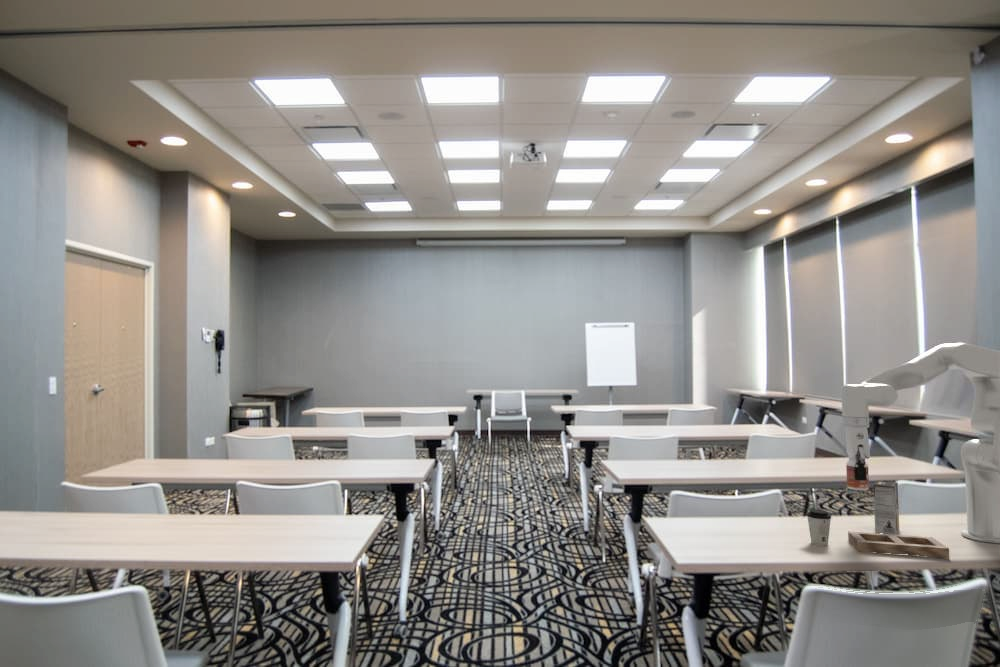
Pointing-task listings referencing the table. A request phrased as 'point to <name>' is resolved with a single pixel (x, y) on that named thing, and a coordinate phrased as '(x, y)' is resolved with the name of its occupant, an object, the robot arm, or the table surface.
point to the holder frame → (898, 544)
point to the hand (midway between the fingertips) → (857, 477)
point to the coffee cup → (819, 526)
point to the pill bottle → (851, 477)
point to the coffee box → (886, 507)
